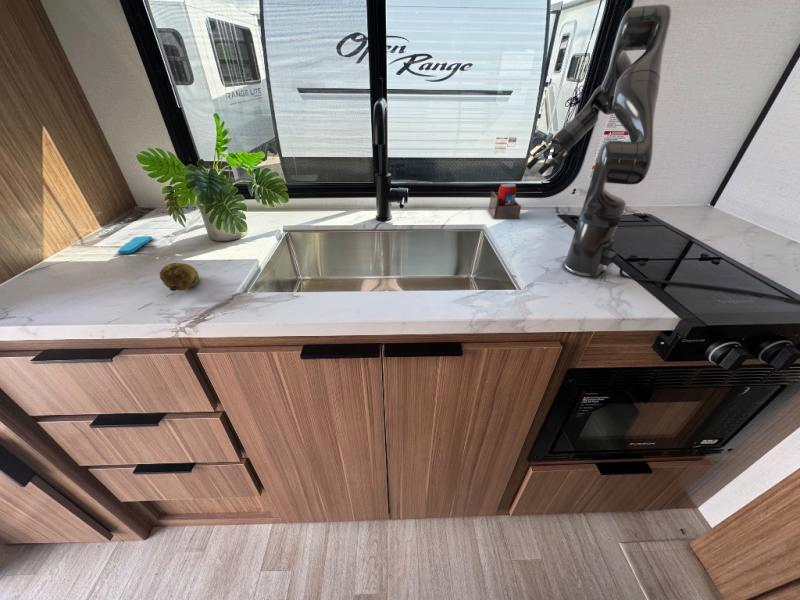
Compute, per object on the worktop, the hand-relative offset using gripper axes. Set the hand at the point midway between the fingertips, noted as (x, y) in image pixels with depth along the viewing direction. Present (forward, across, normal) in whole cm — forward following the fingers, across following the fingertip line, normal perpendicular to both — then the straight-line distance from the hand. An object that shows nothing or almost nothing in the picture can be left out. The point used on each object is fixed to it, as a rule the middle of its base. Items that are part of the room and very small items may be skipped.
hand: (533, 170), depth 124 cm
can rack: (+19, 0, +5) cm, 19 cm away
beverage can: (+19, 0, +5) cm, 19 cm away
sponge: (+113, +4, -89) cm, 144 cm away
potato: (+95, +35, -71) cm, 124 cm away
